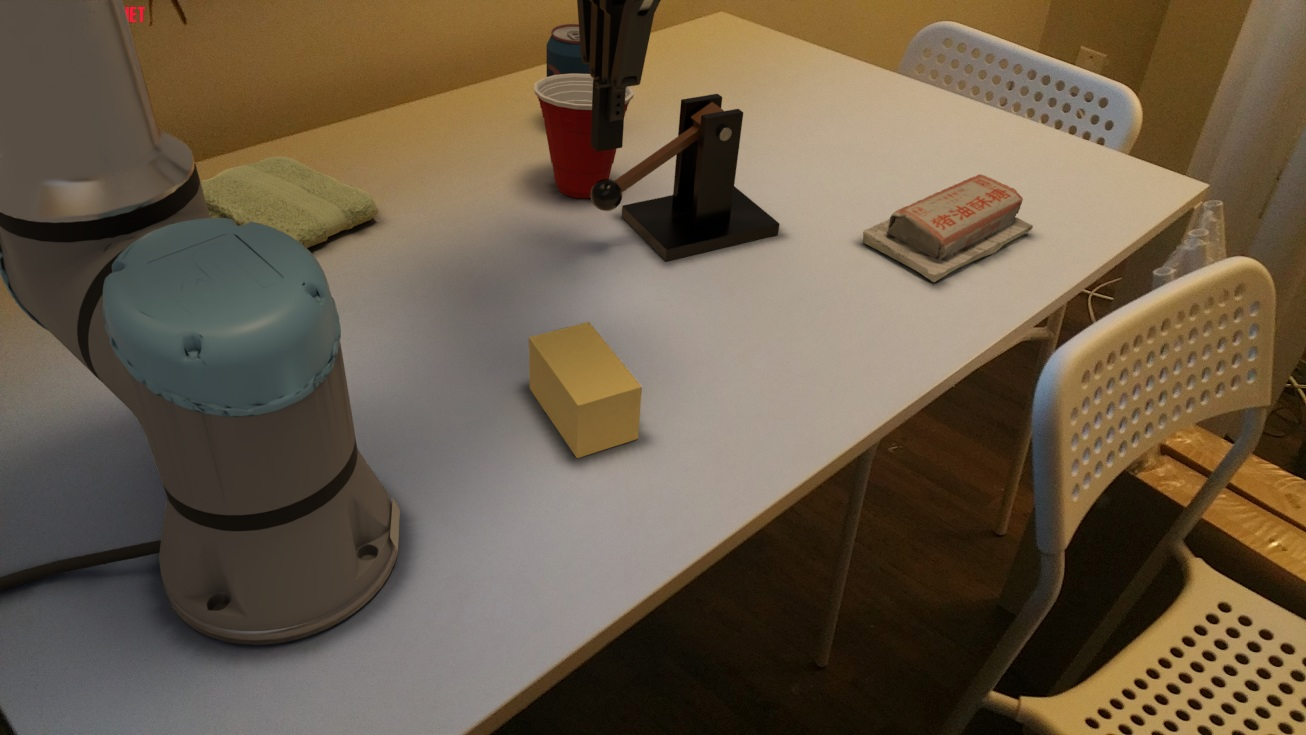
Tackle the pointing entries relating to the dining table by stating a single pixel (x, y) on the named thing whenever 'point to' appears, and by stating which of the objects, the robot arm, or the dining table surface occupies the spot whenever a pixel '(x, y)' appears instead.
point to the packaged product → (951, 227)
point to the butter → (584, 389)
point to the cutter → (702, 192)
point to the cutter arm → (646, 165)
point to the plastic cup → (573, 132)
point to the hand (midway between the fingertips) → (606, 146)
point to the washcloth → (287, 199)
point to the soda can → (565, 51)
